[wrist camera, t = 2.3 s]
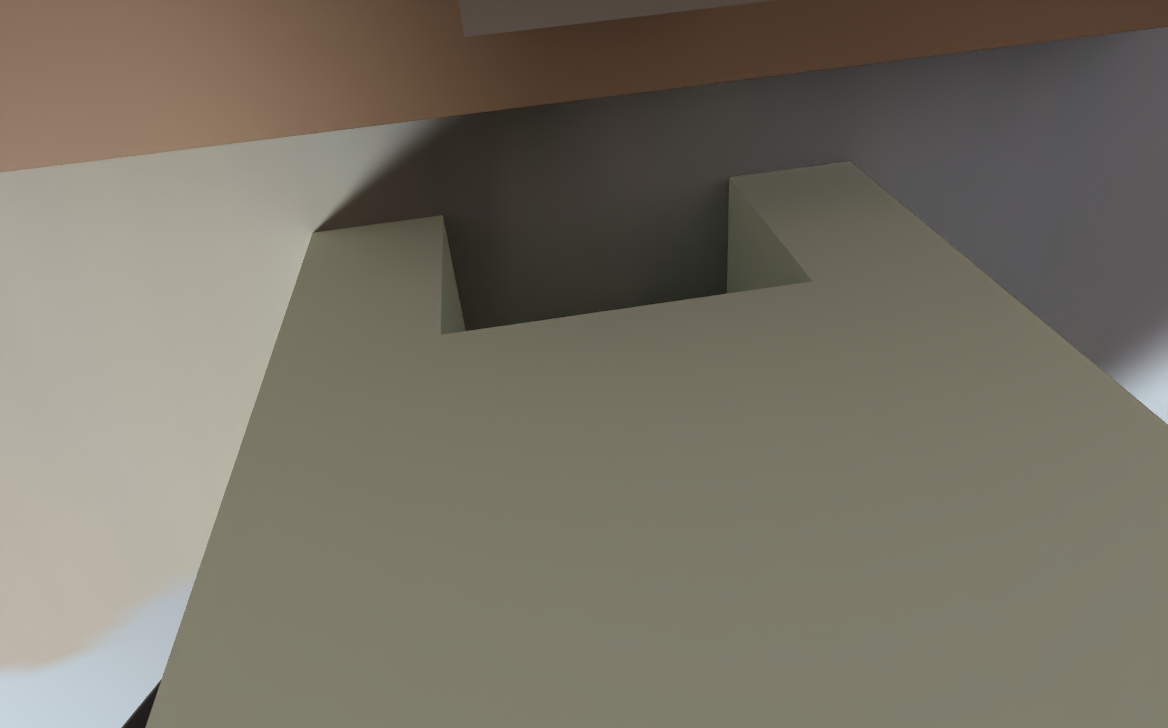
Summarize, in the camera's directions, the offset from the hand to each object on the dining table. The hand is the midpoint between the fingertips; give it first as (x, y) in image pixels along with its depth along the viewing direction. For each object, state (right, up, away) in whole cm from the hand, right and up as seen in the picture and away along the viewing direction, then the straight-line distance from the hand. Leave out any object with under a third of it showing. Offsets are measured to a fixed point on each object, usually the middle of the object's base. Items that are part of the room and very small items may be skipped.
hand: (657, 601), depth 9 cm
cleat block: (0, +1, +2) cm, 3 cm away
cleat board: (-2, +12, -5) cm, 13 cm away
